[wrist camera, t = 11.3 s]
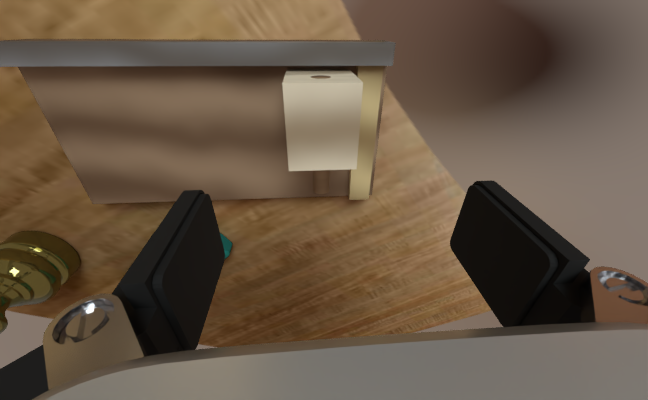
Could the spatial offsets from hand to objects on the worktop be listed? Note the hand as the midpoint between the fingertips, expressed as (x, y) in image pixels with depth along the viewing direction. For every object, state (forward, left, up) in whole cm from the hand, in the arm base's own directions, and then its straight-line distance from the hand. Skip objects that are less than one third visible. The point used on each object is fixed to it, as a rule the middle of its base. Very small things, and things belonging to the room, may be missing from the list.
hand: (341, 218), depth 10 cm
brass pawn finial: (+17, -32, -18) cm, 41 cm away
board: (+2, -8, -18) cm, 20 cm away
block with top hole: (+2, 0, -16) cm, 16 cm away
